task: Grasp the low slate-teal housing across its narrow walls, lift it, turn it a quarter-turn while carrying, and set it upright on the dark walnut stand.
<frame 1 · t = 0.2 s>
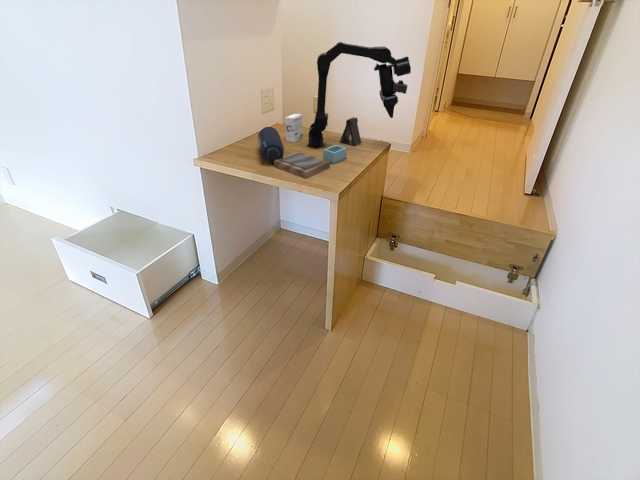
hand: (390, 115, 163), 15 cm above the table, tool pointing down, fingers open, 9 cm apart
phone stand: (350, 143, 176), on the table
walnut stand: (302, 167, 149), on the table
ink box: (294, 139, 179), on the table
housing: (334, 159, 157), on the table
portable speaker: (272, 155, 160), on the table, touching walnut stand
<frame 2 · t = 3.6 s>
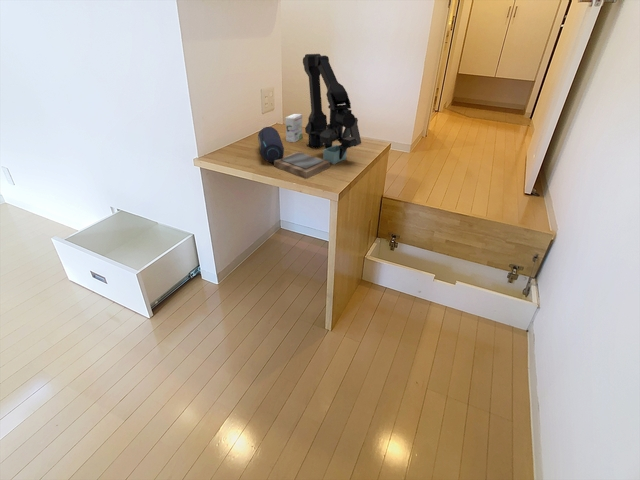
hand: (334, 157, 156), 1 cm above the table, tool pointing down, fingers closed on housing, 6 cm apart
housing: (334, 159, 157), on the table, touching gripper
everything else where it was.
when the fingers open (5 cm above the table, at t = 8.5 s): housing drops 1 cm, resting on walnut stand.
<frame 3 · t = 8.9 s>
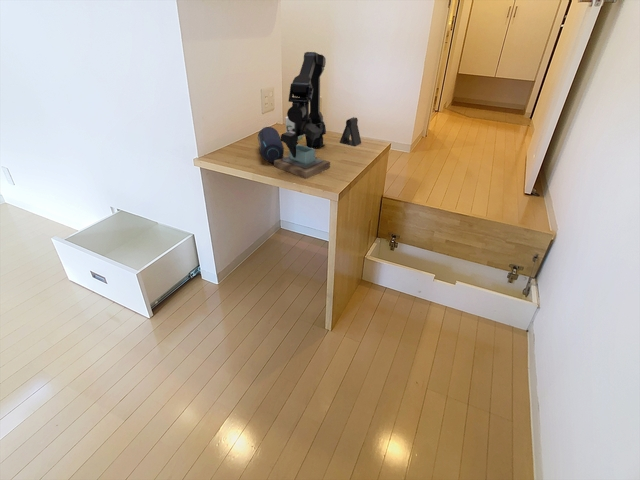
hand: (302, 154, 146), 5 cm above the table, tool pointing down, fingers open, 9 cm apart
housing: (302, 160, 148), point 3 cm above the table, touching walnut stand
everything else where it was.
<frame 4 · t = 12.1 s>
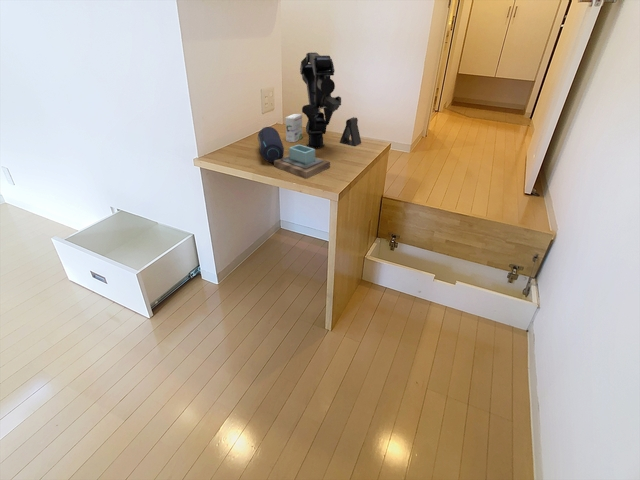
hand: (320, 126, 157), 12 cm above the table, tool pointing down, fingers open, 9 cm apart
nothing on the table moved.
at the end: housing inside the target area on the walnut stand (0.0 cm from its centre), point 3.0 cm above the walnut stand's base; housing tilted 0°; the gripper is holding nothing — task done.
